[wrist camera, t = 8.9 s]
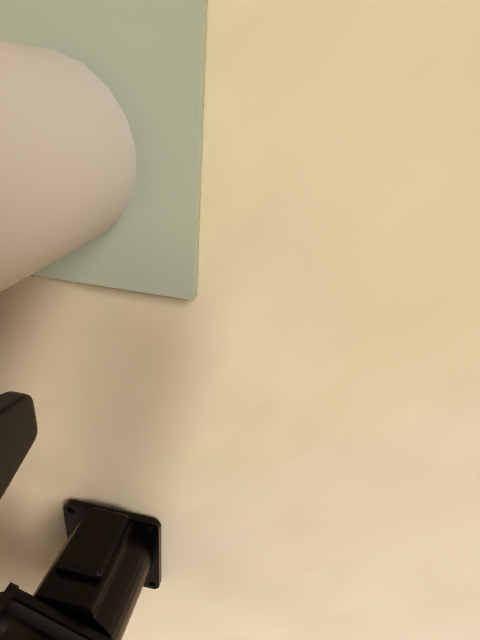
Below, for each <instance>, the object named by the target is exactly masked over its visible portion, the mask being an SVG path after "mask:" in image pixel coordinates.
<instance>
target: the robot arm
mask: <svg viewBox="0 0 480 640" xmlns="http://www.w3.org/2000/svg"><path fill="white" fill-rule="evenodd" d="M36 435H37V422H36V415H35V409H34V403H33V399H32V398H31V396H29V395H28V394H23V393H18V392H11V391H10V392H6V393H3V394H1V395H0V499H1V498H2V496H3V494H4V493H5V491H6V489H7V487H8V486H9V484H10V482H11V481H12V479H13V477H14V475H15V474H16V472H17V470H18V468H19V467H20V465H21V463H22V462H23V460H24V458H25V456H26V455H27V453H28V451H29V449H30V448H31V446H32V444H33V442H34V441H35V438H36ZM64 516H65V523H66V530H67V537H68V540H67V541H66V543H65V545H64V546H63V548H62V549H61V551H60V553H59V554H58V556H57V557H56V559H55V561H54V562H53V564H52V565H51V567H50V569H49V570H48V572H47V574H46V575H45V577H44V578H43V580H42V582H41V583H40V585H39V586H38V588H37V590H36V591H35V593H34V594H33V596H32V595H30V594H28V593H26V592H24V591H23V590H21V589H19V586H17V585H15V584H14V583H12V582H11V583H10V584H9V585H8V587H7V588H6V590H5V591H4V592H3V591H2V592H0V640H121V639H122V637H123V634H124V632H125V629H126V627H127V624H128V622H129V620H130V617H131V615H132V612H133V610H134V607H135V605H136V602H137V600H138V597H139V595H140V593H141V590H142V588H143V586H144V587H148V588H152V589H157V588H158V587H159V585H160V582H161V524H160V522H159V521H158V520H156V519H154V518H149V517H145V516H140V515H136V514H132V513H127V512H123V511H119V510H114V509H110V508H106V507H101V506H97V505H93V504H88V503H84V502H79V501H75V500H68V501H67V503H66V504H65V506H64Z"/></svg>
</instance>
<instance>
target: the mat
mask: <svg viewBox="0 0 480 640" xmlns="http://www.w3.org/2000/svg"><path fill="white" fill-rule="evenodd" d="M206 27H207V0H0V41H5V42H11V43H17V44H24V45H30V46H36V47H42V48H49V49H54V50H56V51H58V52H60V53H62V54H65V55H67V56H69V57H71V58H73V59H75V60H77V61H79V62H82V63H83V64H84V65H85V66H86V67H87V68H88V69H90V70H91V71H92V72H93V73H94V74H95V75H96V76H97V77H98V78H99V79H100V80H101V81H103V82H104V83H105V84H106V85H107V86H108V88H109V89H110V91H111V93H112V94H113V96H114V97H115V99H116V101H117V102H118V104H119V105H120V107H121V109H122V110H123V112H124V114H125V115H126V118H127V121H128V125H129V128H130V131H131V134H132V138H133V141H134V144H135V148H136V181H135V185H134V188H133V192H132V195H131V199H130V202H129V206H128V207H127V208H126V210H125V211H124V213H123V214H122V215H121V217H120V218H119V220H118V221H117V222H116V224H115V225H114V226H113V227H111V228H110V229H108V230H107V231H105V232H104V233H102V234H101V235H99V236H97V237H96V238H94V239H93V240H91V241H89V242H87V243H86V244H84V245H82V246H80V247H79V248H77V249H75V250H73V251H72V252H70V253H68V254H67V255H65V256H63V257H61V258H60V259H58V260H56V261H54V262H53V263H51V264H49V265H47V266H46V267H44V268H42V269H40V270H39V271H37V272H35V273H33V274H32V275H33V276H40V277H46V278H52V279H59V280H65V281H72V282H78V283H85V284H91V285H97V286H104V287H110V288H117V289H123V290H130V291H136V292H142V293H149V294H155V295H162V296H168V297H175V298H181V299H187V300H194V299H195V297H196V296H197V276H198V248H199V221H200V193H201V165H202V138H203V110H204V82H205V54H206Z"/></svg>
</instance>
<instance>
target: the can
mask: <svg viewBox="0 0 480 640" xmlns="http://www.w3.org/2000/svg"><path fill="white" fill-rule="evenodd" d="M135 181H136V148H135V144H134V141H133V138H132V134H131V131H130V128H129V125H128V121H127V118H126V115H125V114H124V112H123V110H122V109H121V107H120V105H119V104H118V102H117V101H116V99H115V97H114V96H113V94H112V93H111V91H110V89H109V88H108V86H107V85H106V84H105V83H104V82H103V81H101V80H100V79H99V78H98V77H97V76H96V75H95V74H94V73H93V72H92V71H91V70H90V69H88V68H87V67H86V66H85V65H84V64H83V63H82V62H79V61H77V60H75V59H73V58H71V57H69V56H67V55H65V54H62V53H60V52H58V51H56V50H54V49H49V48H42V47H36V46H30V45H24V44H17V43H11V42H5V41H0V292H2V291H4V290H6V289H7V288H9V287H11V286H13V285H14V284H16V283H18V282H20V281H21V280H23V279H25V278H26V277H28V276H30V275H32V274H33V273H35V272H37V271H39V270H40V269H42V268H44V267H46V266H47V265H49V264H51V263H53V262H54V261H56V260H58V259H60V258H61V257H63V256H65V255H67V254H68V253H70V252H72V251H73V250H75V249H77V248H79V247H80V246H82V245H84V244H86V243H87V242H89V241H91V240H93V239H94V238H96V237H97V236H99V235H101V234H102V233H104V232H105V231H107V230H108V229H110V228H111V227H113V226H114V225H115V224H116V222H117V221H118V220H119V218H120V217H121V215H122V214H123V213H124V211H125V210H126V208H127V207H128V206H129V202H130V199H131V195H132V192H133V188H134V185H135Z"/></svg>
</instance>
